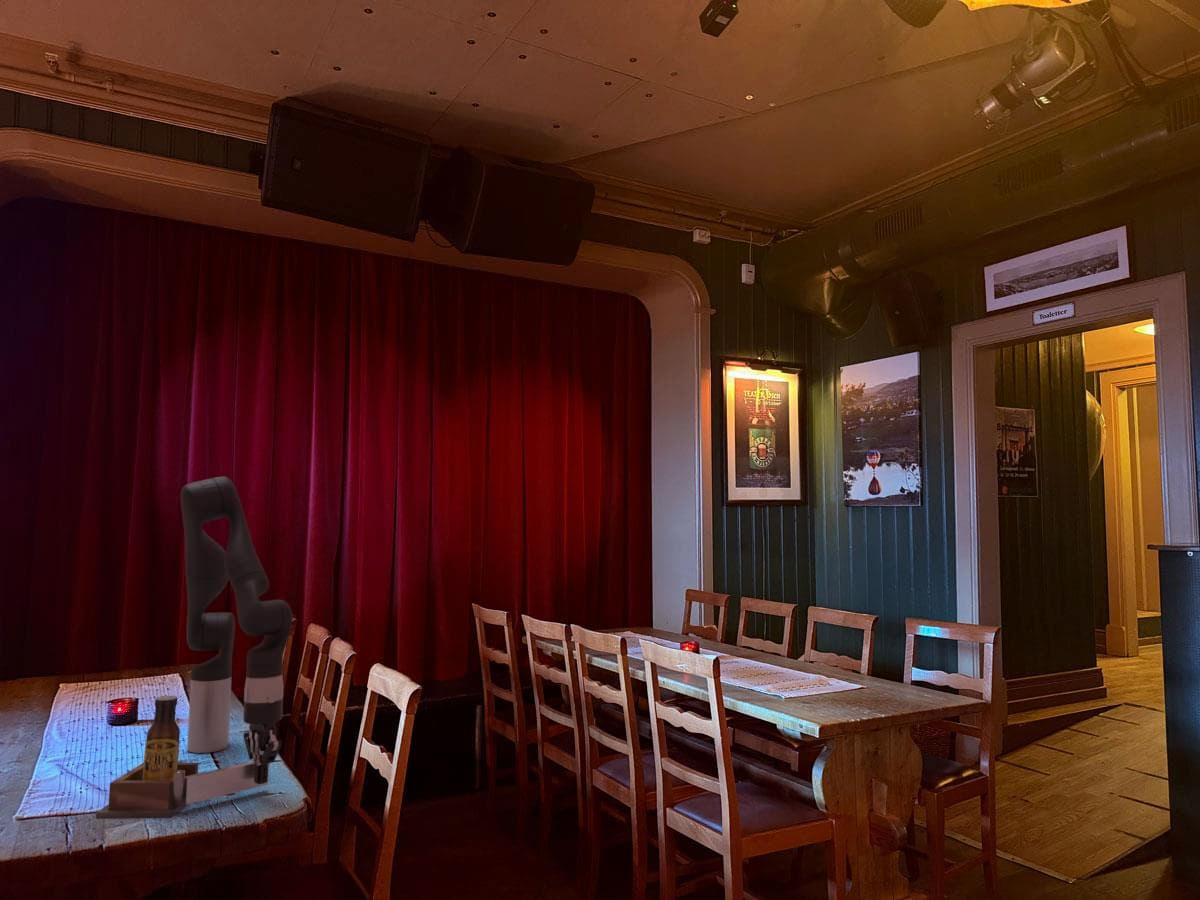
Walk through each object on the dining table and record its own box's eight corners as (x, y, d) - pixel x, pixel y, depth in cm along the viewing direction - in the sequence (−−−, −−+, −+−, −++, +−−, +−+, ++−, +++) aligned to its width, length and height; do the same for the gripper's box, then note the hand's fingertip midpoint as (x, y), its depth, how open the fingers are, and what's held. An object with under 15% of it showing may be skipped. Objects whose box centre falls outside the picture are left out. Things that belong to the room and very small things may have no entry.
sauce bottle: (137, 804, 162) (143, 701, 164) (144, 793, 168) (150, 694, 170) (173, 801, 164) (178, 700, 166) (179, 791, 170) (184, 693, 171)
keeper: (174, 807, 159) (176, 773, 160) (170, 805, 161) (171, 771, 161) (268, 784, 173) (270, 753, 174) (264, 782, 175) (265, 751, 175)
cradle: (138, 789, 173) (139, 760, 174) (205, 789, 174) (207, 760, 175) (95, 817, 158) (97, 785, 158) (170, 817, 158) (172, 785, 159)
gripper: (231, 695, 173) (228, 780, 171) (260, 705, 164) (257, 794, 163) (266, 690, 178) (263, 772, 177) (296, 699, 170) (293, 785, 168)
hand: (260, 782), depth 170 cm, fingers closed
